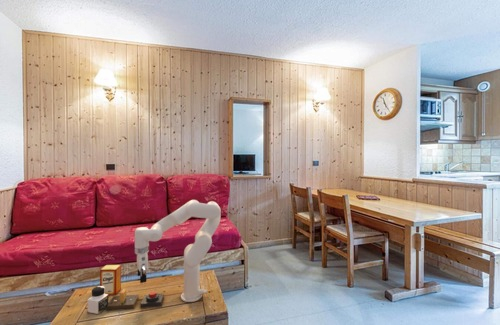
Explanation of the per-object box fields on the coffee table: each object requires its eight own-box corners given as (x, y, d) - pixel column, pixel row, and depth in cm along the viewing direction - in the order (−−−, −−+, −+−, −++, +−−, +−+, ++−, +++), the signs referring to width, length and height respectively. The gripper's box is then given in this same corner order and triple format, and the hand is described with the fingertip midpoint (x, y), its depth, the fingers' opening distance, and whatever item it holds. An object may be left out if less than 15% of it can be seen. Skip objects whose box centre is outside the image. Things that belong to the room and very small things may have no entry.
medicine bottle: (98, 314, 133) (98, 292, 133) (87, 312, 134) (87, 290, 134) (108, 306, 140) (108, 285, 140) (97, 304, 141) (97, 283, 141)
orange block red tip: (123, 297, 145) (123, 288, 145) (126, 297, 145) (126, 288, 145) (119, 303, 139) (119, 293, 139) (123, 302, 139) (123, 293, 139)
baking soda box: (99, 295, 151) (100, 269, 151) (105, 289, 158) (105, 264, 158) (115, 295, 152) (116, 269, 152) (120, 289, 158) (121, 264, 158)
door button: (156, 294, 147) (156, 291, 147) (155, 297, 143) (155, 294, 143) (150, 294, 146) (150, 291, 146) (148, 298, 143) (148, 295, 143)
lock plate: (138, 298, 148) (138, 294, 148) (133, 308, 138) (133, 303, 138) (113, 300, 146) (113, 296, 146) (106, 310, 136) (106, 306, 136)
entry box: (163, 297, 150) (163, 290, 150) (160, 306, 141) (161, 299, 141) (144, 298, 148) (144, 292, 148) (140, 307, 139) (140, 300, 139)
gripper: (151, 252, 138) (151, 283, 138) (146, 243, 153) (146, 271, 153) (137, 255, 134) (137, 287, 134) (132, 245, 149) (132, 274, 149)
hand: (141, 278), depth 144 cm, fingers open, 9 cm apart
